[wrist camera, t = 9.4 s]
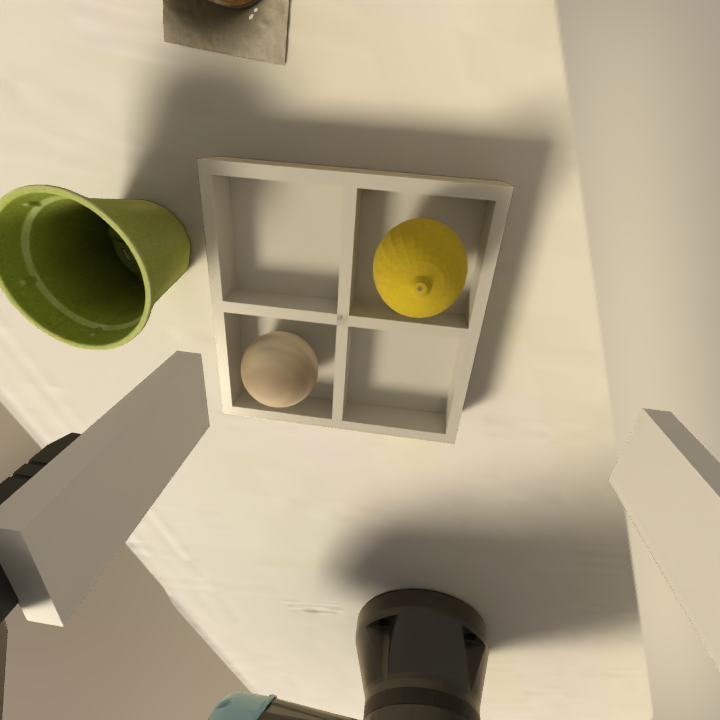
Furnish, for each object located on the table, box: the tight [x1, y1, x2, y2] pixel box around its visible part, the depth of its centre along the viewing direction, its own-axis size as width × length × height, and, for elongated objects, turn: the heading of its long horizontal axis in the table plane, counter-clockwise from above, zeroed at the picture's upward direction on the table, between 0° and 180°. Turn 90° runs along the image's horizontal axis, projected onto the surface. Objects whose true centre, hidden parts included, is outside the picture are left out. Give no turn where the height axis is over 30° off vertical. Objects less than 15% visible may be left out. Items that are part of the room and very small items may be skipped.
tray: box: [197, 157, 514, 444], centre depth 30 cm, size 18×18×4 cm
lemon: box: [373, 218, 468, 318], centre depth 25 cm, size 6×6×8 cm
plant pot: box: [0, 185, 191, 350], centre depth 27 cm, size 9×9×9 cm
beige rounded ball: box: [241, 331, 318, 407], centre depth 30 cm, size 6×6×6 cm
